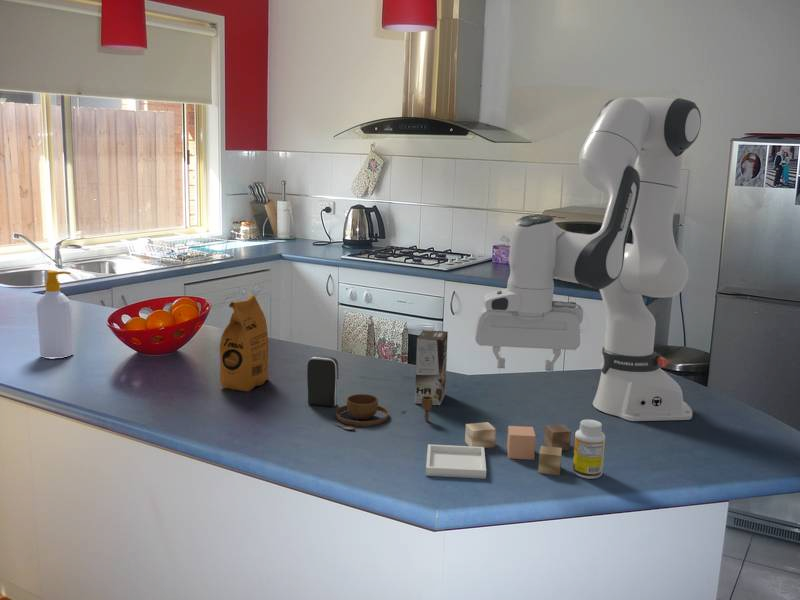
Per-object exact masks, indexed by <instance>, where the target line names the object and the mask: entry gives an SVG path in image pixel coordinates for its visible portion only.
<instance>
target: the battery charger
mask: <svg viewBox="0 0 800 600" xmlns="http://www.w3.org/2000/svg"><path fill="white" fill-rule="evenodd" d="M306 369H307V373H306V375H307V376H306V377H307V378H306V379H307V381H306V382H307V404H308V405H313V406H321V407H331V408H332V407H335V406H336V405H337V400H338V399H337V384H338V380H339V362H338V359H337V358H335V357H332V356H326V355H325V356H324V355H323V356H322V355H321V356H320V355H315V356H312V357H311V358H310V359H308V362H307V368H306Z"/></svg>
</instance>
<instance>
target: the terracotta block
mask: <svg viewBox="0 0 800 600" xmlns="http://www.w3.org/2000/svg"><path fill="white" fill-rule="evenodd" d="M506 442H507V443H506V449H507V450H506V451H507V456H508V457H507V458H508V459H514V460H516V459H518V460H532V461H534V460H535V448H536V432H535V429H534V426H518V425H508V426H507V441H506Z"/></svg>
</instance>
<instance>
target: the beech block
mask: <svg viewBox="0 0 800 600" xmlns="http://www.w3.org/2000/svg"><path fill="white" fill-rule="evenodd" d="M464 443H466V445H468V446H471V447H484V449H486V448H487V449H488V448H495V447H496V427H494V426H493V425H492V424H491V423H489V422H488V421H487V422H474V423H465V435H464Z"/></svg>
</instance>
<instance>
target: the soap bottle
mask: <svg viewBox="0 0 800 600" xmlns="http://www.w3.org/2000/svg"><path fill="white" fill-rule="evenodd" d="M46 273H47V279H46V281H45V293H44V294H42V296H40V298H39V299H38V301H37V304H36V315H37V330H38V343H39V356H40V355H41V356H44V357H64V356H69V355H72V354H73V353H74V354H75V344H74V328H73V315H72V313H73V311H72V304H71V301H70V299H69V298H68V296H67V295H65V294H64V293H63V292H61V285H60V281H59V279H58V278H57V276H58V275H64V274H66V275H71V272H69V271H66V270H65V271H64V270H63V271H57V270H48V271H46ZM74 354H73V355H74ZM41 356H40V357H41Z"/></svg>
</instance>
